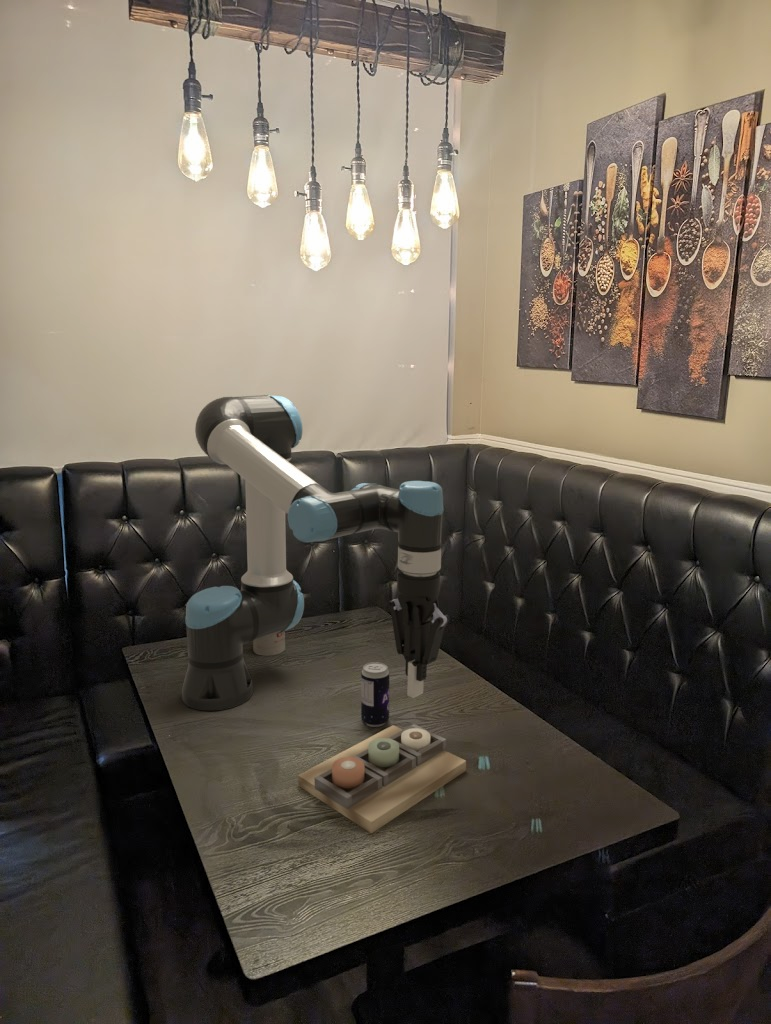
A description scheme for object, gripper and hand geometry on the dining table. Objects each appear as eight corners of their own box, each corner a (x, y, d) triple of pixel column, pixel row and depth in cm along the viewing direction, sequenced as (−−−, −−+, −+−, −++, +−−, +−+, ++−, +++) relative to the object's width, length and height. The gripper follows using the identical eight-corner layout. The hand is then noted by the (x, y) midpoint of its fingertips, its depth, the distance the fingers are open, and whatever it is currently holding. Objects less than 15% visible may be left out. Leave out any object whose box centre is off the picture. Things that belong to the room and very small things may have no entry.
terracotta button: (325, 778, 117) (325, 764, 116) (349, 765, 121) (349, 752, 120) (347, 792, 113) (347, 778, 113) (371, 778, 117) (371, 764, 117)
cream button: (395, 747, 129) (395, 734, 129) (414, 736, 133) (414, 724, 133) (416, 759, 126) (417, 745, 125) (436, 747, 129) (436, 734, 129)
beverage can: (386, 730, 140) (386, 674, 137) (358, 727, 141) (358, 671, 139) (391, 716, 145) (391, 662, 143) (364, 713, 146) (364, 660, 144)
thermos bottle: (291, 649, 178) (288, 543, 172) (264, 658, 173) (261, 549, 167) (273, 640, 184) (270, 537, 178) (247, 648, 179) (243, 542, 173)
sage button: (362, 758, 123) (361, 745, 122) (383, 746, 127) (383, 733, 126) (384, 771, 119) (384, 757, 119) (405, 758, 123) (405, 745, 123)
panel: (295, 786, 121) (295, 765, 120) (394, 733, 139) (395, 714, 138) (369, 834, 109) (369, 812, 108) (467, 769, 127) (468, 749, 126)
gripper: (377, 566, 124) (375, 689, 129) (433, 583, 115) (429, 714, 120) (405, 558, 129) (402, 676, 134) (461, 574, 120) (456, 699, 126)
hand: (415, 694), depth 127 cm, fingers closed
